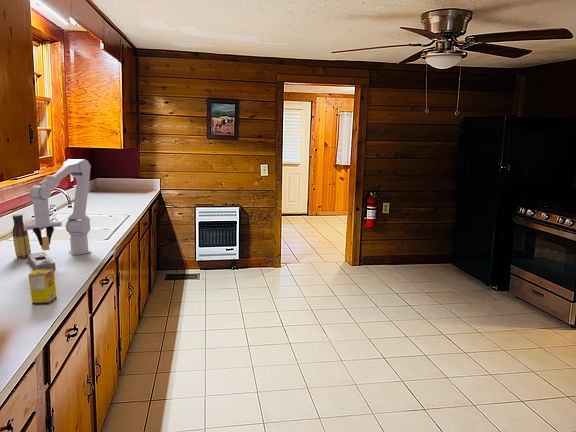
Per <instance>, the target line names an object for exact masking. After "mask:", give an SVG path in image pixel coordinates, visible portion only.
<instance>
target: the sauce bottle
mask: <svg viewBox="0 0 576 432" xmlns="http://www.w3.org/2000/svg"><path fill="white" fill-rule="evenodd" d="M12 220H13V228H12V238H13V246H14V252H15V255H16V258H17V259H21V260H22V259H28V258H27V254H32V249H31V245H30V243H31V242H30V238H29V233H28V230H27V231H25V230H24V226H25V224H24V216H23V214H14V215H12Z"/></svg>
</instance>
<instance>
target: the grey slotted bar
mask: <svg viewBox="0 0 576 432" xmlns="http://www.w3.org/2000/svg"><path fill="white" fill-rule="evenodd" d="M26 259H27V262H28V263H29V264H30V265H31V267H32V268H33V269H34V271H35V270H36V269H54V271H56V270H57V269H56V262H55V261H54V260H53V259H52V258H51V257H50V256H49V255H48V254H47V253H46V252H45V251H40V252H33V253H31V254H27V258H26Z"/></svg>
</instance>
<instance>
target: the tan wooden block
mask: <svg viewBox="0 0 576 432" xmlns="http://www.w3.org/2000/svg"><path fill="white" fill-rule="evenodd" d="M41 238H42V246H40V247H41V250H42V252H45V251H49V250H50V249H51V248H50V244H49V239H48V236H47V234H41Z"/></svg>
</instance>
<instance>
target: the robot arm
mask: <svg viewBox="0 0 576 432" xmlns="http://www.w3.org/2000/svg"><path fill="white" fill-rule="evenodd" d="M91 168H92V166H91V164H90V162H89V160H87V159H84V158H83V159H73V158H72V159H71V158H68V159H66V160H65V161H64V162H63V163H62V166H61V167H60V168H59V169H58V170H57V171H56V172H54V174H53V175H52V174H50V175H46V176H45V178H44V179H43V180H42V181H39V182H38V183H37V185H33V186H31V187H30V188H29V191H28V196H29V198H30V200H31V203H32V205H33V214H34V223H32V224H31V223H30V224H26V225H25V224H24V225H25V226H24V230H25V231H27V232H28V231H33V233H34V234H35V236H36V238H37V240H38V243H39V245H40V247H41V246H42V238H41V235H42V230H41V229H45V234H46V235H47V236H48V239H49V245H50V244H51V240H52V236H53V233H54V231H55V228H57V227H62V226H63V224H62V221H51V217H50V208H49V207H50V206H49V198H51V193H52V192H54V190H55V189H56V188H58V186H60V181H61V180H62V179H64V178H65V177H67V176H68V175H70V176H72V177H73V178H75V180H76V185H75V192H74V200H73V201H74V203H73V209H72V214H70V215H69V216H68V217H67V222H66V223H65V231H66V232H67V233H68V236H70V237H69V244H70V250H68V252H69V253H70V254H71V255H73V256H78V255H84V254H91V253H92V251H91V250H90V249H89V242H88V240H89V239H88V235H89V232H90V231H91V223H90V222H91V218H89V216H88V215H86V213H87V204H88V196H89V195H88V194H89V187H90V186H89V185H90V179H91V178H90V177H91Z"/></svg>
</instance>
